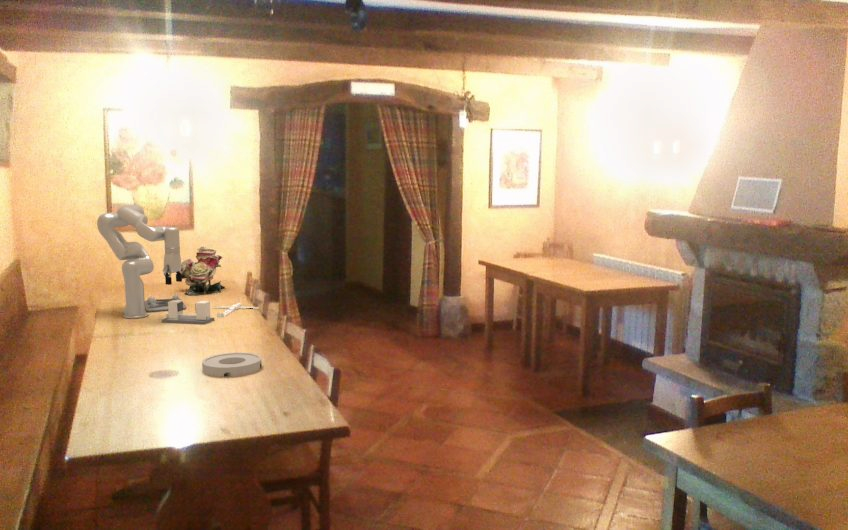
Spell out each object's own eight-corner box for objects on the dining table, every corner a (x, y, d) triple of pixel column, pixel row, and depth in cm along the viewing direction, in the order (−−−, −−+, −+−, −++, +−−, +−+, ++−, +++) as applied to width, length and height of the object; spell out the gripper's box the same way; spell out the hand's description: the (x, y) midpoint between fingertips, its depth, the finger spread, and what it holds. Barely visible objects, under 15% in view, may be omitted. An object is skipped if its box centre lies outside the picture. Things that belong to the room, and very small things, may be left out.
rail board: (161, 322, 379) (160, 302, 378) (172, 318, 389) (171, 298, 387) (204, 324, 374) (203, 304, 372) (214, 320, 383) (213, 300, 382)
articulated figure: (196, 312, 392) (217, 300, 421) (196, 319, 393) (217, 306, 422) (244, 313, 389) (262, 300, 419) (245, 320, 390) (262, 307, 420)
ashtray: (239, 358, 308) (239, 349, 307) (273, 368, 293) (273, 358, 292) (191, 370, 290) (190, 360, 290) (224, 381, 275) (224, 371, 275)
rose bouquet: (179, 290, 477) (177, 245, 473) (225, 288, 486) (223, 243, 482) (179, 297, 453) (176, 249, 449) (227, 294, 462) (225, 248, 458)
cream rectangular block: (168, 318, 380) (167, 301, 379) (174, 316, 386) (173, 299, 385) (178, 318, 379) (177, 302, 378) (184, 316, 384) (183, 300, 383)
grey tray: (186, 310, 414) (186, 298, 413) (146, 313, 405) (145, 301, 404) (181, 301, 441) (180, 290, 440) (143, 304, 432) (143, 292, 431)
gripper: (175, 248, 387) (176, 280, 390) (156, 252, 370) (158, 285, 373) (187, 249, 385) (189, 280, 388) (169, 253, 369) (171, 286, 371)
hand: (173, 283), depth 380 cm, fingers open, 9 cm apart
